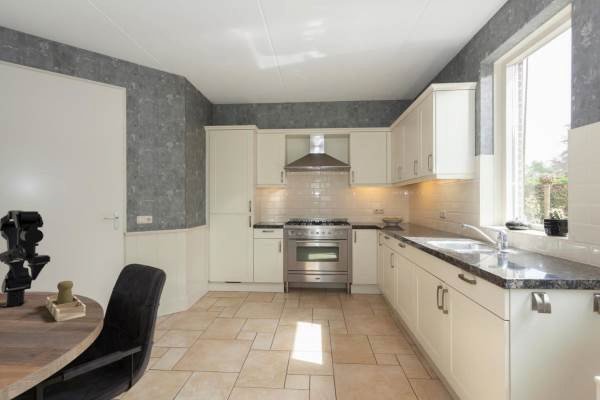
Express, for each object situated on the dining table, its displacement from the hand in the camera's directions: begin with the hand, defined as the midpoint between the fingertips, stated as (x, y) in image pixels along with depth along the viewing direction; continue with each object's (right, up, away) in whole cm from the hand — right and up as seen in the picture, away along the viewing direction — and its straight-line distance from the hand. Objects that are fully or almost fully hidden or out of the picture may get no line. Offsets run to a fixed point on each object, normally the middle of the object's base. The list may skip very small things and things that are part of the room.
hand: (25, 279), depth 121 cm
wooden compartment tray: (+16, -13, +1) cm, 20 cm away
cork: (+15, -12, +1) cm, 20 cm away
